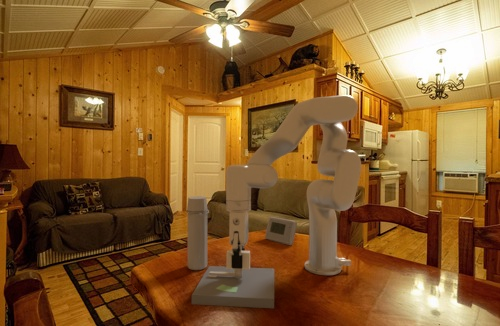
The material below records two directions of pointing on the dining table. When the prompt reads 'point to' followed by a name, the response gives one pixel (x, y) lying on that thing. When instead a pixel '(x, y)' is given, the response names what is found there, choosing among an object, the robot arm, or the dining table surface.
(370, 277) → the dining table surface
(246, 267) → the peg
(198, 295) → the grey square board
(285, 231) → the digital clock
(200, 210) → the water bottle
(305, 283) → the dining table surface
